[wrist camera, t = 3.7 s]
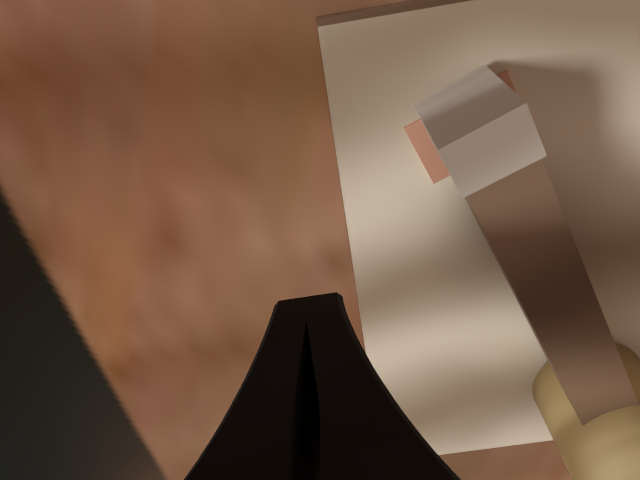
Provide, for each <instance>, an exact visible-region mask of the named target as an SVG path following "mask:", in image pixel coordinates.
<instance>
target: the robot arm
mask: <svg viewBox="0 0 640 480" xmlns="http://www.w3.org/2000/svg"><path fill="white" fill-rule="evenodd" d="M184 480H461V479H460V478H459V477H458V476H457V475H456V474H455V473H454V472H453V471H452V470H451V469H450V468H449V467H448V465H447V464H446V463H445V462H444V461H443V460H442V459H441V458H440V457H439V456H438V454H437V453H436V452H435V451H434V450H433V448H432V447H431V446H430V445H429V444H428V442H427V441H426V440H425V439H424V438H423V436H422V435H421V434H420V433H419V431H418V430H417V429H416V428H415V426H414V425H413V424H412V422H411V421H410V420H409V419H408V417H407V416H406V415H405V413H404V412H403V411H402V409H401V408H400V406H399V405H398V404H397V402H396V401H395V399H394V398H393V396H392V395H391V393H390V392H389V390H388V389H387V387H386V386H385V384H384V383H383V381H382V380H381V378H380V377H379V375H378V374H377V372H376V370H375V369H374V367H373V365H372V364H371V362H370V360H369V358H368V357H367V355H366V353H365V351H364V349H363V348H362V346H361V344H360V342H359V340H358V338H357V336H356V334H355V332H354V330H353V327H352V325H351V323H350V321H349V318H348V315H347V313H346V310H345V306H344V303H343V297H342V296H341V295H340V294H338V293H337V292H336V293H329V294H322V295H315V296H309V297H302V298H295V299H288V300H282V301H278V302H277V304H276V305H275V306H274V309H273V313H272V316H271V319H270V322H269V324H268V327H267V330H266V332H265V335H264V337H263V340H262V342H261V344H260V347H259V349H258V352H257V354H256V356H255V358H254V360H253V362H252V365H251V367H250V369H249V371H248V373H247V375H246V378H245V380H244V382H243V384H242V386H241V387H240V389H239V391H238V393H237V395H236V397H235V399H234V400H233V402H232V404H231V406H230V408H229V410H228V412H227V413H226V415H225V417H224V419H223V421H222V422H221V424H220V426H219V427H218V429H217V431H216V432H215V434H214V436H213V437H212V439H211V440H210V442H209V444H208V445H207V447H206V448H205V450H204V451H203V453H202V454H201V456H200V457H199V459H198V460H197V462H196V463H195V465H194V466H193V468H192V469H191V470H190V472H189V473H188V475H187V476H186V477H185V479H184Z"/></svg>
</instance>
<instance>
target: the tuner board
mask: <svg viewBox="0 0 640 480" xmlns="http://www.w3.org/2000/svg"><path fill="white" fill-rule="evenodd" d="M316 20H317V27H318V34H319V40H320V47H321V54H322V61H323V67H324V74H325V81H326V87H327V94H328V101H329V108H330V114H331V121H332V128H333V135H334V141H335V148H336V155H337V162H338V168H339V175H340V182H341V188H342V195H343V202H344V209H345V215H346V222H347V229H348V236H349V242H350V249H351V256H352V263H353V269H354V276H355V283H356V289H357V296H358V303H359V310H360V316H361V323H362V330H363V337H364V343H365V350H366V355H367V357H368V358H369V360H370V362H371V364H372V365H373V367H374V369H375V370H376V372H377V374H378V375H379V377H380V378H381V380H382V381H383V383H384V384H385V386H386V387H387V389H388V390H389V392H390V393H391V395H392V396H393V398H394V399H395V401H396V402H397V404H398V405H399V406H400V408H401V409H402V411H403V412H404V413H405V415H406V416H407V417H408V419H409V420H410V421H411V422H412V424H413V425H414V426H415V428H416V429H417V430H418V431H419V433H420V434H421V435H422V436H423V438H424V439H425V440H426V441H427V442H428V444H429V445H430V446H431V447H432V448H433V450H434V451H435V452H436V453H437V454H438V455H441V454H449V453H457V452H465V451H472V450H480V449H488V448H495V447H503V446H511V445H518V444H526V443H534V442H542V441H549V440H553V438H552V436H551V434H550V432H549V430H548V428H547V425H546V423H545V421H544V419H543V417H542V415H541V413H540V411H539V408H538V406H537V404H536V402H535V400H534V398H533V394H532V386H533V382H534V379H535V377H536V375H537V374H538V372H539V371H540V370H541V368H542V367H543V366H544V365H545V364H546V363H547V362H548V360H547V358H546V356H545V354H544V352H543V350H542V348H541V346H540V344H539V343H538V341H537V339H536V337H535V335H534V333H533V331H532V329H531V327H530V325H529V323H528V321H527V319H526V317H525V315H524V313H523V311H522V309H521V307H520V305H519V303H518V301H517V299H516V297H515V295H514V293H513V291H512V289H511V287H510V285H509V283H508V282H507V280H506V278H505V276H504V274H503V272H502V270H501V268H500V266H499V264H498V262H497V260H496V258H495V256H494V254H493V252H492V250H491V248H490V246H489V244H488V242H487V240H486V238H485V236H484V234H483V232H482V230H481V228H480V226H479V224H478V223H477V221H476V219H475V217H474V215H473V213H472V211H471V209H470V207H469V205H468V203H467V201H466V199H465V197H464V198H462V196H461V194H460V192H459V190H458V188H457V187H456V185H455V183H454V181H453V179H452V177H451V176H448V177H446V178H445V179H443V180H441V181H439V182H437V183H435V184H433V182H432V180H431V178H430V176H429V174H428V172H427V171H426V169H425V167H424V165H423V163H422V161H421V159H420V158H419V156H418V154H417V152H416V150H415V148H414V146H413V145H412V143H411V141H410V139H409V137H408V135H407V133H406V132H405V130H404V128H403V127H405V126H407V125H409V124H410V123H412V122H414V121H416V120H418V119H419V118H420V117H419V115H418V113H417V111H416V109H415V107H414V104H416V103H417V102H419V101H421V100H423V99H424V98H426V97H428V96H430V95H432V94H433V93H435V92H437V91H439V90H440V89H442V88H444V87H446V86H447V85H449V84H451V83H453V82H454V81H456V80H458V79H460V78H462V77H463V76H465V75H467V74H469V73H470V72H472V71H474V70H476V69H477V68H479V67H481V66H483V65H486V66H487V67H488V68H489V69H490V70H491V71H493V72H494V73H495V74H496V75H498V74H500V73H502V72H504V71H506V70H507V71H508V73H509V76H510V78H511V81H512V84H513V86H514V89H515V91H516V94H517V95H519V96H520V97H521V98H522V99H523V100H524V101H525V102H526V103H527V105H528V108H529V111H530V113H531V116H532V118H533V121H534V123H535V126H536V129H537V131H538V134H539V136H540V139H541V142H542V144H543V147H544V149H545V152H546V154H547V156H546V157H544V158H542V160H543V163H544V165H545V168H546V170H547V173H548V175H549V178H550V180H551V183H552V185H553V188H554V190H555V193H556V196H557V198H558V201H559V203H560V206H561V208H562V211H563V213H564V216H565V218H566V221H567V223H568V226H569V228H570V231H571V233H572V236H573V238H574V241H575V244H576V246H577V249H578V251H579V254H580V256H581V259H582V261H583V264H584V266H585V269H586V271H587V274H588V276H589V279H590V281H591V284H592V287H593V289H594V292H595V294H596V297H597V299H598V302H599V304H600V307H601V309H602V312H603V314H604V317H605V319H606V322H607V324H608V327H609V329H610V332H611V335H612V337H613V340H614V342H615V343H618V344H622V345H624V346H626V347H628V348H630V349H631V350H632V351H634V352H635V353H636V355H637V356H638V357H639V359H640V0H413V1H407V2H401V3H395V4H389V5H383V6H378V7H372V8H366V9H360V10H354V11H349V12H343V13H337V14H331V15H325V16H320V17H316Z"/></svg>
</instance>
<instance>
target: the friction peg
mask: <svg viewBox="0 0 640 480" xmlns="http://www.w3.org/2000/svg"><path fill="white" fill-rule="evenodd" d="M414 107H415V109H416V111H417V113H418V115H419V117H420V119H421V121H422V123H423V125H424V127H425V129H426V131H427V133H428V135H429V137H430V138H431V140H432V142H433V144H434V146H435V148H436V150H437V152H438V154H439V155H440V157H441V159H442V161H443V163H444V165H445V166H446V168H447V170H448V172H449V174H450V176H451V177H452V179H453V181H454V183H455V185H456V187H457V188H458V190H459V192H460V194H461V196H462V198H464V197H465V199H466V201H467V203H468V205H469V207H470V209H471V211H472V213H473V215H474V217H475V219H476V221H477V223H478V224H479V226H480V228H481V230H482V232H483V234H484V236H485V238H486V240H487V242H488V244H489V246H490V248H491V250H492V252H493V254H494V256H495V258H496V260H497V262H498V264H499V266H500V268H501V270H502V272H503V274H504V276H505V278H506V280H507V282H508V283H509V285H510V287H511V289H512V291H513V293H514V295H515V297H516V299H517V301H518V303H519V305H520V307H521V309H522V311H523V313H524V315H525V317H526V319H527V321H528V323H529V325H530V327H531V329H532V331H533V333H534V335H535V337H536V339H537V341H538V343H539V344H540V346H541V348H542V350H543V352H544V354H545V356H546V358H547V360H548V362H547V363H546V364H545V365H544V366H543V367H542V368H541V370H540V371H539V372H538V374H537V375H536V377H535V379H534V382H533V386H532V394H533V398H534V400H535V402H536V404H537V406H538V408H539V411H540V413H541V415H542V417H543V419H544V421H545V423H546V425H547V428H548V430H549V432H550V434H551V436H552V438H553V440H554V442H555V445H556V447H557V449H558V451H559V453H560V455H561V457H562V460H563V462H564V464H565V466H566V468H567V470H568V472H569V474H570V477H571V479H572V480H640V359H639V357H638V356H637V355H636V353H635V352H634V351H632V350H631V349H630V348H628V347H626V346H624V345H622V344H618V343H615V342H614V340H613V337H612V335H611V332H610V329H609V327H608V324H607V322H606V319H605V317H604V314H603V312H602V309H601V307H600V304H599V302H598V299H597V297H596V294H595V292H594V289H593V287H592V284H591V281H590V279H589V276H588V274H587V271H586V269H585V266H584V264H583V261H582V259H581V256H580V254H579V251H578V249H577V246H576V244H575V241H574V238H573V236H572V233H571V231H570V228H569V226H568V223H567V221H566V218H565V216H564V213H563V211H562V208H561V206H560V203H559V201H558V198H557V196H556V193H555V190H554V188H553V185H552V183H551V180H550V178H549V175H548V173H547V170H546V168H545V165H544V163H543V160H542V158H544V157H546V156H547V154H546V152H545V149H544V147H543V144H542V142H541V139H540V136H539V134H538V131H537V129H536V126H535V123H534V121H533V118H532V116H531V113H530V111H529V108H528V105H527V103H526V102H525V101H524V100H523V99H522V98H521V97H520V96H519V95H517V94H516V93H515V92H514V91H513V90H512V89H511V88H510V87H509V86H508V85H507V84H506V83H504V82H503V81H502V80H501V79H500V78H499V77H498V76H497V75H496V74H495V73H494V72H493V71H491V70H490V69H489V68H488V67H487V66H486V65H483V66H481V67H479V68H477V69H476V70H474V71H472V72H470V73H469V74H467V75H465V76H463V77H462V78H460V79H458V80H456V81H454V82H453V83H451V84H449V85H447V86H446V87H444V88H442V89H440V90H439V91H437V92H435V93H433V94H432V95H430V96H428V97H426V98H424V99H423V100H421V101H419V102H417V103H416V104H414Z"/></svg>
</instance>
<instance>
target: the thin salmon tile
mask: <svg viewBox="0 0 640 480" xmlns="http://www.w3.org/2000/svg"><path fill="white" fill-rule="evenodd" d="M497 76H498V77H499V78H500V79H501V80H502V81H503V82H504V83H506V84H507V85H508V86H509V87H510V88H511V89H512V90H513V91H514V92H515V93H516V91H515V89H514V86H513V84H512V81H511V78H510V76H509V73H508V71H507V70H506V71H504V72H502V73H500V74H498V75H497ZM403 128H404V130H405V132H406V133H407V135H408V137H409V139H410V141H411V143H412V145H413V146H414V148H415V150H416V152H417V154H418V156H419V158H420V159H421V161H422V163H423V165H424V167H425V169H426V171H427V172H428V174H429V176H430V178H431V180H432V182H433V184H435V183H437V182H439V181H441V180H443V179H445V178H446V177H448V176H450V174H449V172H448V170H447V168H446V166H445V165H444V163H443V161H442V159H441V157H440V155H439V154H438V152H437V150H436V148H435V146H434V144H433V142H432V140H431V138H430V137H429V135H428V133H427V131H426V129H425V127H424V125H423V123H422V121H421V119H420V118H419V119H418V120H416V121H414V122H412V123H410V124H409V125H407V126H405V127H403Z"/></svg>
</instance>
